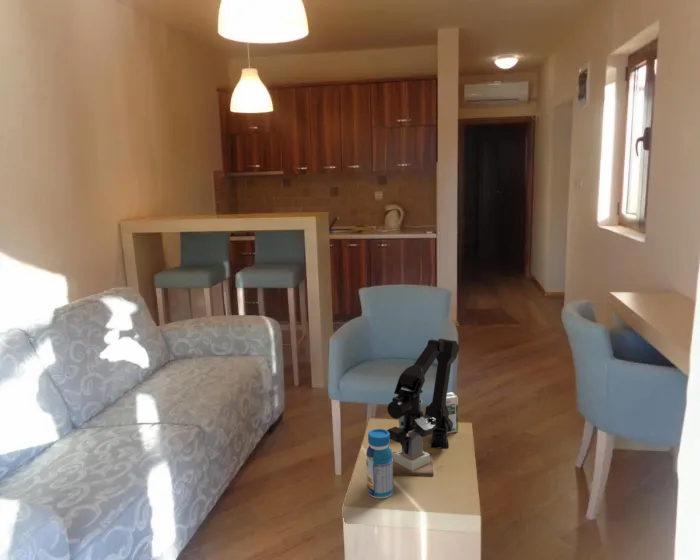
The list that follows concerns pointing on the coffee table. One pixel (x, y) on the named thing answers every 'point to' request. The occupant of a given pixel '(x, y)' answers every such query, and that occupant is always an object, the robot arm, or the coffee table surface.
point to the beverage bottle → (379, 464)
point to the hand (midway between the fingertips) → (412, 451)
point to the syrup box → (452, 410)
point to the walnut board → (421, 470)
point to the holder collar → (412, 463)
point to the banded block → (414, 446)
